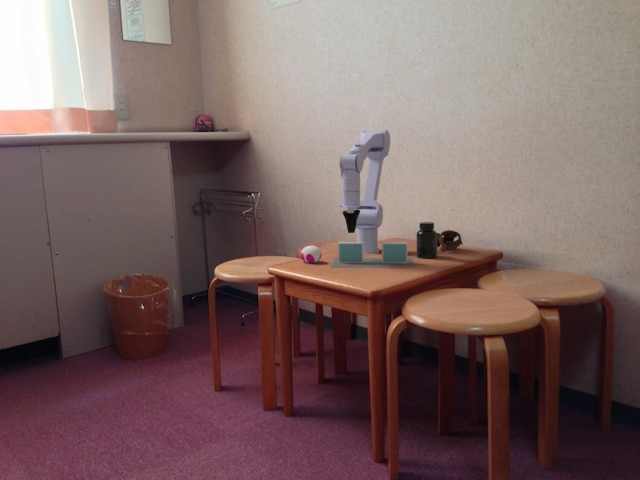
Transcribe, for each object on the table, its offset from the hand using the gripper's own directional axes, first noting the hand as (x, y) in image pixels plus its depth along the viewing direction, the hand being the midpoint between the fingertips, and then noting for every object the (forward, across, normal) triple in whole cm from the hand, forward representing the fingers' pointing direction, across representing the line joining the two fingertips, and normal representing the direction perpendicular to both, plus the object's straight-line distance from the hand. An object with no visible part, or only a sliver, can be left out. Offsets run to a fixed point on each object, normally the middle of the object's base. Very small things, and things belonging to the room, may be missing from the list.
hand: (351, 232), depth 186 cm
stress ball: (+10, +5, -13) cm, 17 cm away
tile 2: (+9, +5, +14) cm, 17 cm away
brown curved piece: (+10, -20, +33) cm, 40 cm away
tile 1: (+9, +5, 0) cm, 10 cm away
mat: (+9, +6, +7) cm, 13 cm away
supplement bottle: (+10, -5, +25) cm, 27 cm away
